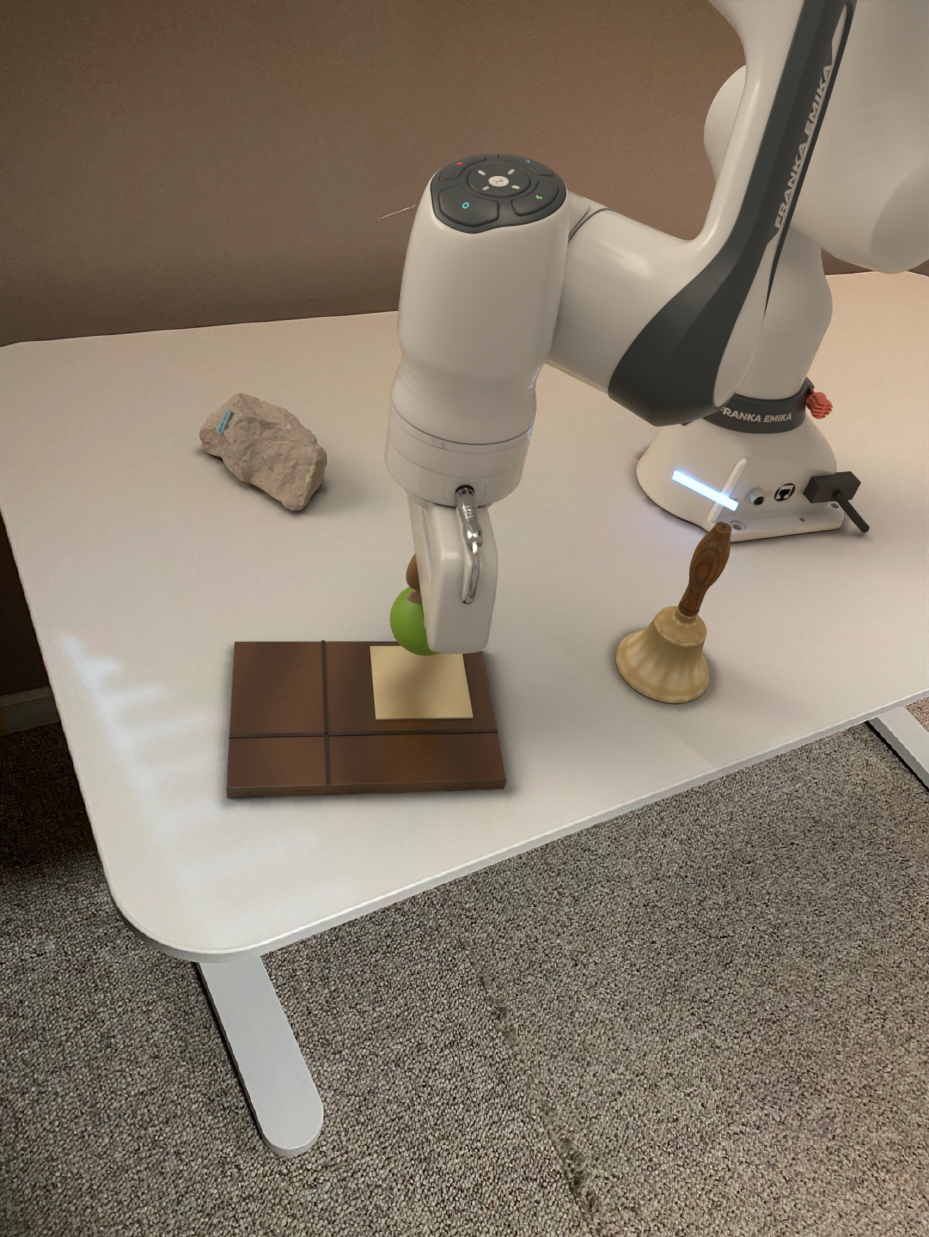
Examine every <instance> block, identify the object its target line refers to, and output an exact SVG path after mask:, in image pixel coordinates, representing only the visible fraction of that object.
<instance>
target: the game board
mask: <svg viewBox="0 0 929 1237" xmlns="http://www.w3.org/2000/svg"><path fill="white" fill-rule="evenodd" d="M232 660H233V661H232V662H233V663H232V679H231V680H232V681H231V698H230V699H231V700H230V713H229V714H230V715H229V732H228V749H227V767H226V768H227V770H226V787H225V789H226V790H225V791H226V798H228V799H231V798H236V799H237V798H264V797H299V796H323V795H324V796H327V795H353V794H354V795H355V794H357V795H358V794H385V793H387V794H388V793H389V794H390V793H417V792H419V793H420V792H447V791H450V792H451V791H476V790H477V791H478V790H479V791H481V790H504V789H505V787H506V783H507V775H506V769H505V764H504V760H503V754H502V749H501V744H500V738H499V730H498V727H497V723H496V718H495V712H494V708H493V702H492V697H491V692H490V686H489V682H488V677H487V670H486V667H485V666H486V665H485V661H484V656H483V650H481V651H479V652H476V653H468V654H446V653H440V654H437V655H432V656H421V655H416V654H413V653H411V652H409V651H407V650H406V649H404V648H403V647H402V646H401V645H400V644H399V643H398V642H397V640H391V641H390V640H384V641H383V640H379V641H378V640H370V641H369V640H367V641H365V640H364V641H363V640H359V641H358V640H350V641H349V640H346V641H345V640H343V641H341V640H338V641H337V640H334V641H333V640H330V641H329V640H327V641H326V640H325V639H321V641H317V640H314V641H313V640H312V641H311V640H309V641H306V640H305V641H303V640H302V641H300V640H298V641H296V640H295V641H293V640H292V641H290V640H289V641H284V640H283V641H280V640H279V641H278V640H277V641H276V640H275V641H271V640H270V641H269V640H268V641H267V640H266V641H265V640H264V641H259V640H258V641H257V640H256V641H252V640H251V641H234V644H233V659H232Z"/></svg>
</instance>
